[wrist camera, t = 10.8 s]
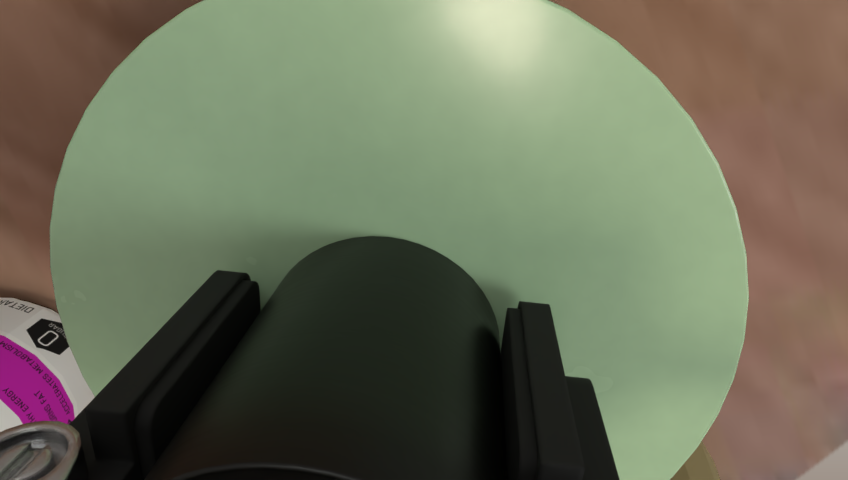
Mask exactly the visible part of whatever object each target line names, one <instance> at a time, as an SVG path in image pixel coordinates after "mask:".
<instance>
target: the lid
mask: <svg viewBox="0 0 848 480" xmlns="http://www.w3.org/2000/svg"><path fill="white" fill-rule="evenodd" d="M50 268H51V275H52V281H53V287H54V293H55V300H56V306H57V309H58V312H59V316H60V319H61V322H62V326H63V329H64V332H65V336H66V339H67V342H68V344H69V347H70V349H71V351H72V353H73V356H74V358H75V360H76V362H77V365H78V367H79V369H80V371H81V374H82V376H83V378H84V379H85V381H86V383H87V384H88V386H89V388H90V389H91V391H92V393H93V395H94V396H95V397H96V396H97V395H98V393H99V392H100V391H101V390H102V389H103V388H104V387H105V386H106V385H107V384H108V383H109V382H110V381H111V380H112V379H113V378H114V377H115V376H116V375H117V374H118V373H119V371H120V370H121V369H122V368H123V367H124V366H125V365H126V364H127V363H128V362H129V361H130V360H131V359H132V358H133V357H134V356H135V355H136V354H137V353H138V352H139V351H140V350H141V348H142V347H143V346H144V345H145V344H146V343H147V342H148V341H149V340H150V339H151V338H152V337H153V336H154V335H155V334H156V333H157V332H158V331H159V330H160V329H161V328H162V326H163V325H164V324H165V323H166V322H167V321H168V320H169V319H170V318H171V317H172V316H173V315H174V314H175V313H176V312H177V311H178V310H179V309H180V308H181V307H182V306H183V305H184V303H185V302H186V301H187V300H188V299H189V298H190V297H191V296H192V295H193V294H194V293H195V292H196V291H197V290H198V289H199V288H200V287H201V286H202V285H203V284H204V283H205V282H206V280H207V279H208V278H209V277H210V276H211V275H212V274H213V273H214V272H215V271H217V270H222V271H232V272H242V273H247V274H248V275H249V276H250V279H251V281H256V282H257V283H258V285H259V290H260V306H261V312H260V313H259V315H258V316H257V317H256V319H255V320H254V322H253V323H252V325H251V326H250V327H249V329H248V330H247V332H246V333H245V335H244V336H243V338H242V339H241V340H240V342H239V343H238V345H237V346H236V348H235V349H234V351H233V352H232V353H231V355H230V356H229V358H228V359H227V361H226V362H225V364H224V365H223V366H222V368H221V369H220V371H219V372H218V374H217V375H216V377H215V378H214V379H213V381H212V382H211V384H210V385H209V387H208V388H207V390H206V391H205V392H204V394H203V395H202V397H201V398H200V400H199V401H198V403H197V404H196V405H195V407H194V408H193V410H192V411H191V413H190V414H189V416H188V417H187V418H186V420H185V421H184V423H183V424H182V426H181V427H180V428H179V430H178V431H177V433H176V434H175V436H174V437H173V439H172V440H171V441H170V443H169V444H168V446H167V447H166V449H165V450H164V452H163V453H162V454H161V456H160V457H159V459H158V460H157V462H156V463H155V465H154V466H153V467H152V469H151V470H150V472H149V473H148V475H147V476H146V478H145V479H144V480H507V471H506V452H505V432H504V413H503V394H502V374H501V355H500V352H501V345H502V338H503V331H504V324H505V317H506V311H507V308H518V304H519V301H524V302H533V303H543V304H549V305H550V308H551V313H552V317H553V322H554V326H555V331H556V336H557V340H558V345H559V350H560V354H561V359H562V363H563V368H564V373H565V376H570V377H579V378H588V379H590V380H591V382H592V384H593V387H594V390H595V394H596V398H597V401H598V405H599V408H600V412H601V415H602V419H603V422H604V426H605V430H606V433H607V437H608V440H609V444H610V447H611V451H612V454H613V458H614V461H615V465H616V469H617V472H618V476H619V479H620V480H670V479H671V478H672V477H673V476H674V475H675V474H676V472H677V471H678V470H679V469H680V468H681V466H682V465H683V464H684V463H685V462H686V461H687V459H688V458H689V457H690V456H691V455H692V453H693V452H694V451H695V450H696V449H697V447H698V446H699V444H700V443H701V441H702V439H703V438H704V436H705V435H706V433H707V432H708V430H709V428H710V427H711V425H712V424H713V422H714V420H715V419H716V417H717V416H718V414H719V411H720V409H721V407H722V405H723V402H724V400H725V398H726V395H727V393H728V391H729V389H730V386H731V384H732V382H733V380H734V376H735V372H736V369H737V365H738V361H739V358H740V354H741V350H742V346H743V343H744V337H745V328H746V318H747V309H748V299H749V294H748V276H747V258H746V250H745V245H744V241H743V236H742V232H741V227H740V223H739V218H738V213H737V209H736V206H735V203H734V201H733V198H732V196H731V193H730V191H729V188H728V186H727V183H726V181H725V178H724V176H723V173H722V171H721V168H720V166H719V163H718V161H717V160H716V158H715V156H714V155H713V153H712V151H711V150H710V148H709V146H708V145H707V143H706V141H705V140H704V138H703V136H702V135H701V133H700V131H699V129H698V128H697V126H696V124H695V123H694V121H693V119H692V118H691V117H690V116H689V114H688V113H687V112H686V111H685V110H684V108H683V107H682V106H681V105H680V104H679V102H678V101H677V100H676V99H675V98H674V96H673V95H672V94H671V93H670V92H669V90H668V89H667V88H666V87H665V86H664V84H663V83H662V82H661V81H660V80H659V78H658V77H657V76H655V75H654V74H653V73H652V72H651V71H650V70H649V69H648V68H646V67H645V66H644V65H643V64H642V63H641V62H640V61H639V60H637V59H636V58H635V57H634V56H633V55H632V54H631V53H630V52H628V51H627V50H626V49H625V48H624V47H623V46H622V45H621V44H619V43H618V42H617V41H616V40H614V39H613V38H611V37H610V36H608V35H607V34H605V33H604V32H602V31H601V30H599V29H598V28H596V27H595V26H593V25H591V24H590V23H588V22H587V21H585V20H584V19H582V18H581V17H579V16H578V15H576V14H575V13H573V12H572V11H570V10H568V9H566V8H564V7H562V6H560V5H558V4H555V3H553V2H551V1H549V0H203V1H201V2H199V3H197V4H195V5H193V6H191V7H189V8H187V9H185V10H184V11H182V12H181V13H180V14H178V15H177V16H176V17H174V18H173V19H171V20H170V21H169V22H167V23H166V24H164V25H163V26H162V27H160V28H159V29H158V30H156V31H155V32H153V33H152V34H151V35H149V36H148V37H146V38H145V39H144V40H143V41H142V42H141V43H140V44H139V45H138V46H137V47H136V48H135V49H134V50H133V51H132V52H131V53H130V54H129V55H128V56H127V57H126V59H125V60H124V61H123V62H122V63H121V64H120V65H119V66H118V67H117V68H116V69H115V70H114V71H113V72H112V73H111V75H110V76H109V77H108V79H107V80H106V82H105V83H104V84H103V86H102V87H101V89H100V90H99V91H98V93H97V94H96V96H95V97H94V98H93V100H92V101H91V103H90V104H89V106H88V107H87V108H86V110H85V112H84V114H83V116H82V118H81V121H80V123H79V125H78V127H77V129H76V131H75V133H74V135H73V137H72V139H71V141H70V143H69V145H68V147H67V150H66V153H65V157H64V160H63V163H62V167H61V170H60V173H59V177H58V180H57V184H56V187H55V193H54V200H53V208H52V215H51V222H50Z"/></svg>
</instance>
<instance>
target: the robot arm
mask: <svg viewBox="0 0 848 480" xmlns="http://www.w3.org/2000/svg"><path fill="white" fill-rule="evenodd" d="M260 312H261V306H260V290H259V285H258V283H257V282H256V281H251V279H250V276H249V275H248V274H247V273H242V272H232V271H222V270H217V271H215V272H214V273H213V274H212V275H211V276H210V277H209V278H208V279H207V280H206V282H205V283H204V284H203V285H202V286H201V287H200V288H199V289H198V290H197V291H196V292H195V293H194V294H193V295H192V296H191V297H190V298H189V299H188V300H187V301H186V302H185V303H184V305H183V306H182V307H181V308H180V309H179V310H178V311H177V312H176V313H175V314H174V315H173V316H172V317H171V318H170V319H169V320H168V321H167V322H166V323H165V324H164V325H163V326H162V328H161V329H160V330H159V331H158V332H157V333H156V334H155V335H154V336H153V337H152V338H151V339H150V340H149V341H148V342H147V343H146V344H145V345H144V346H143V347H142V348H141V350H140V351H139V352H138V353H137V354H136V355H135V356H134V357H133V358H132V359H131V360H130V361H129V362H128V363H127V364H126V365H125V366H124V367H123V368H122V369H121V370H120V371H119V373H118V374H117V375H116V376H115V377H114V378H113V379H112V380H111V381H110V382H109V383H108V384H107V385H106V386H105V387H104V388H103V389H102V390H101V391H100V392H99V393H98V395H97V396H96V397H95V398H94V399H93V400H92V401H91V402H90V403H89V404H88V405H87V406H86V407H85V408H84V409H83V410H82V411H81V412H80V413H79V414H78V416H77V417H76V418H75V419H74V420H73V421H72V422H71V423H70V424H69V425H68V424H65V423H62V422H60V421H38V422H31V423H25V424H22V425H18V426H15V427H12V428H9V429H6V430H4V431H2V432H0V480H144V479H145V478H146V476H147V475H148V473H149V472H150V470H151V469H152V467H153V466H154V465H155V463H156V462H157V460H158V459H159V457H160V456H161V454H162V453H163V452H164V450H165V449H166V447H167V446H168V444H169V443H170V441H171V440H172V439H173V437H174V436H175V434H176V433H177V431H178V430H179V428H180V427H181V426H182V424H183V423H184V421H185V420H186V418H187V417H188V416H189V414H190V413H191V411H192V410H193V408H194V407H195V405H196V404H197V403H198V401H199V400H200V398H201V397H202V395H203V394H204V392H205V391H206V390H207V388H208V387H209V385H210V384H211V382H212V381H213V379H214V378H215V377H216V375H217V374H218V372H219V371H220V369H221V368H222V366H223V365H224V364H225V362H226V361H227V359H228V358H229V356H230V355H231V353H232V352H233V351H234V349H235V348H236V346H237V345H238V343H239V342H240V340H241V339H242V338H243V336H244V335H245V333H246V332H247V330H248V329H249V327H250V326H251V325H252V323H253V322H254V320H255V319H256V317H257V316H258V315H259V313H260ZM500 355H501V374H502V394H503V413H504V432H505V452H506V471H507V480H620V479H619V476H618V472H617V469H616V465H615V461H614V458H613V454H612V451H611V447H610V444H609V440H608V437H607V433H606V430H605V426H604V422H603V419H602V415H601V412H600V408H599V405H598V401H597V398H596V394H595V390H594V387H593V384H592V382H591V380H590V379H588V378H579V377H570V376H565V373H564V368H563V363H562V359H561V354H560V350H559V345H558V340H557V336H556V331H555V326H554V322H553V317H552V313H551V308H550V305H549V304H543V303H533V302H524V301H519V304H518V308H507V311H506V317H505V324H504V331H503V338H502V345H501V352H500Z"/></svg>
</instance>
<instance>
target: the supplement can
mask: <svg viewBox="0 0 848 480" xmlns="http://www.w3.org/2000/svg"><path fill="white" fill-rule="evenodd" d="M94 398H95V396H94V395H93V393H92V391H91V389H90V388H89V386H88V384H87V383H86V381H85V379H84V378H83V376H82V374H81V371H80V369H79V367H78V365H77V362H76V360H75V358H74V356H73V353H72V351H71V349H70V347H69V344H68V342H67V339H66V336H65V332H64V329H63V326H62V322H61V319H60V316H59V314H58V313H56V312H54V311H53V310H51V309H48V308H45V307H42V306H39V305H36V304H33V303H30V302H27V301H21V300H18V299H15V298H0V432H2V431H4V430H6V429H9V428H12V427H15V426H18V425H22V424H25V423H31V422H38V421H60V422H62V423H65V424H68V425H69V424H70V423H71V422H72V421H73V420H74V419H75V418H76V417H77V416H78V414H79V413H80V412H81V411H82V410H83V409H84V408H85V407H86V406H87V405H88V404H89V403H90V402H91V401H92V400H93V399H94Z"/></svg>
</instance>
